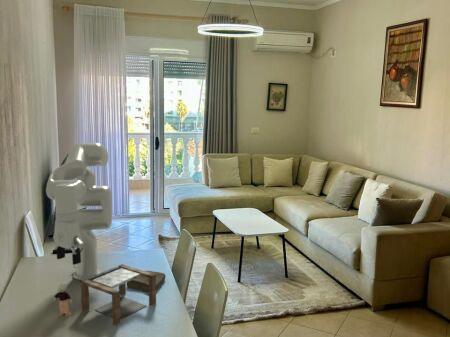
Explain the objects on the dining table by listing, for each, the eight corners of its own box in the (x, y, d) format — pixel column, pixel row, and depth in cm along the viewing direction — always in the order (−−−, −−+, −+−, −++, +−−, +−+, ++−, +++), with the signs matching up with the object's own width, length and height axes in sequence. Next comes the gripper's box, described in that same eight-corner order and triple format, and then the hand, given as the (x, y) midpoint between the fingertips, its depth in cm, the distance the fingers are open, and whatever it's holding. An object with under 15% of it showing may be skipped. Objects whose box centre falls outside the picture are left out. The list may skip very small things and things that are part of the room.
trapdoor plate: (87, 281, 167) (87, 278, 167) (117, 269, 180) (117, 266, 180) (111, 289, 160) (110, 286, 160) (139, 276, 172) (139, 273, 172)
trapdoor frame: (81, 311, 167) (80, 280, 165) (122, 292, 184) (121, 264, 182) (116, 326, 156) (115, 293, 154) (156, 304, 173) (155, 274, 172)
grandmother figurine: (75, 312, 166) (74, 281, 164) (71, 317, 162) (70, 285, 160) (56, 311, 166) (54, 280, 165) (51, 316, 163) (50, 284, 161)
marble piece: (154, 295, 183) (153, 285, 182) (122, 291, 186) (121, 282, 185) (168, 279, 199) (167, 271, 198) (138, 276, 202) (138, 268, 201)
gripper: (44, 215, 161) (46, 259, 164) (72, 222, 152) (74, 268, 154) (61, 211, 168) (63, 253, 170) (90, 218, 158) (91, 262, 160)
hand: (68, 260), depth 162 cm, fingers open, 9 cm apart
